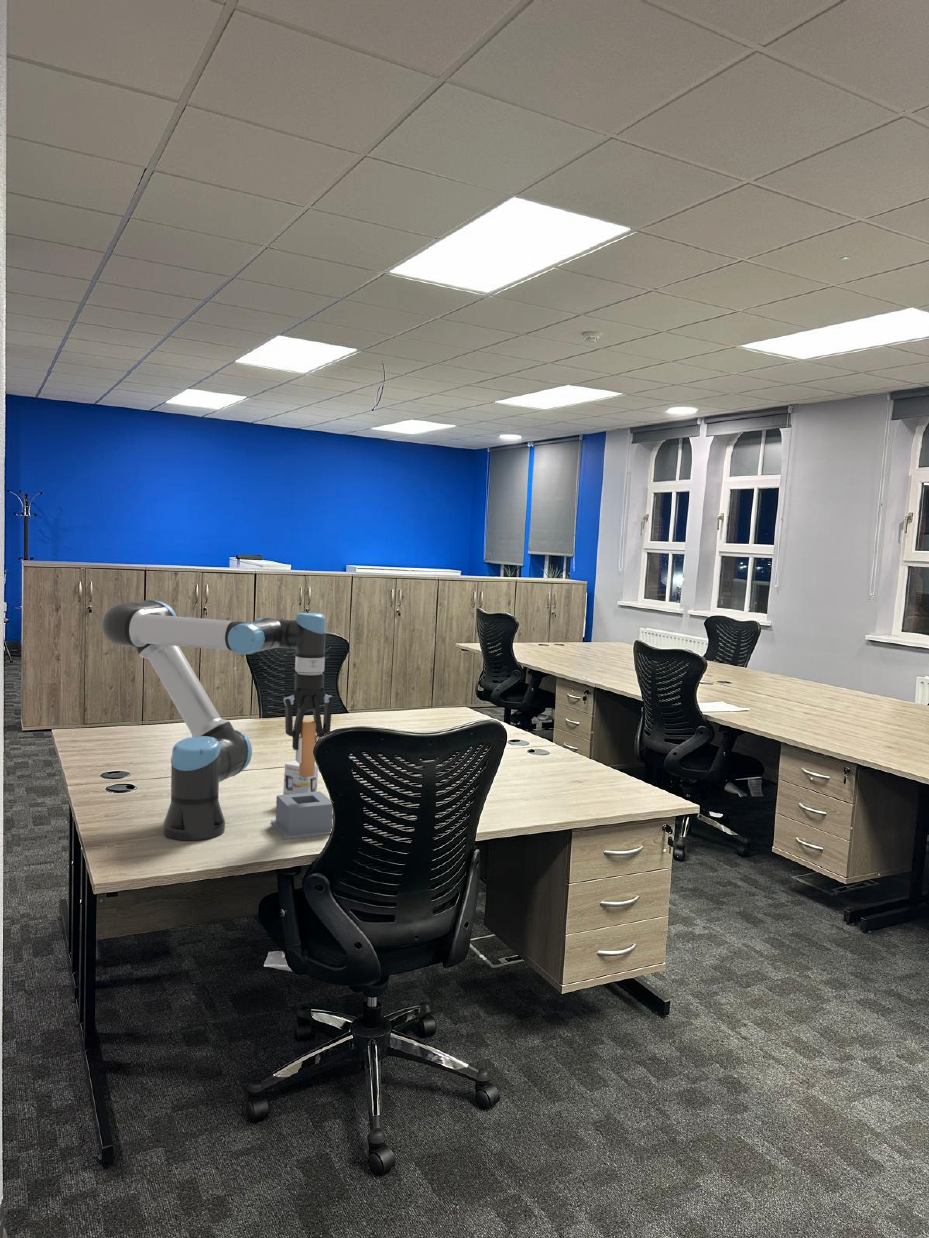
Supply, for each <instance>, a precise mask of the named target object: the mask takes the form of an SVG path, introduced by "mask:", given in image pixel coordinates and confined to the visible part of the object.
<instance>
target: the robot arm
mask: <svg viewBox="0 0 929 1238" xmlns="http://www.w3.org/2000/svg"><path fill="white" fill-rule="evenodd" d="M101 629H102V633H103V635H104V637H105V638H106V639H107V640H108V641H109V643H111V644H112V645H114V646H117V647H124V648H125V647H126V648H128V647H134V648H135V651H137V654H138V655H139V657H141V659H142V658H143V659H146V660H148V661H149V663H150V664H151V666H152V668H153V670H154V671H155V673H156V675H157V677H158V678H159V680H160V682H161V683H162V685H163V687H164V688H165V691H166V693H168V696H169V697H170V699H171V701H172V702H173V704H174V706H175V708H176V710H177V711H178V713H179V715H180V716H181V718H182V720H183V721H184V723H185V725H186V726H187V729H188V730H189V733H191V737H187V738H184V739H181V740H178V741H177V742H176V743H175V744H174V745H173V748H172V751H171V752H172V753H171V757H170V764H171V766H170V767H171V770H170V771H171V774H170V777H171V779H170V780H171V781H170V782H171V783H170V798H171V799H170V804H169V806H168V809H167V812H166V815H165V818H164V821H163V825H162V827H163V828H162V829H163V830H162V833H163V835H164V836H165V837H166V838H170V839H173V840H178V841H199V840H201V841H202V840H207V839H212V838H215V837H218V836H219V835H221V834H223V833H224V832H225V828H226V822H225V821H226V820H225V817H224V814H223V812H222V807H221V803H220V801H219V791H220V790H219V789H220V788H219V785H220V782H223V781H224V780H228V779H229V778H231V777H235V776H237V775H238V774H240V773H241V772H242V771H244V770H245V769H247V767H248V766H249V764H250V762H251V761H252V755H253V747H252V742H251V741H250V738H249V737H248V736H247V735H246V734H245V733H243V732H242V731H239V730H237V729H235V728H234V726H233V725H232V723H231V722H230V720H229V719H224V718H222V717H221V716H220V714H219V712H218V710H217V709H216V708H215V705H214V704H213V702H212V700H211V699H210V697H209V695H208V694H207V692H206V691H205V688H204V687H203V685H202V683H201V682H200V679H199V678H198V677H197V674H196V673H195V671H194V670H193V668H192V667H191V664H190V663H189V661H188V659H187V657H186V656H185V654H184V653H183V651H182V649H181V648H180V647H184V648H193V649H194V648H197V649H208V650H209V649H210V650H221V651H222V650H223V651H231V652H234V653H236V654H238V655H252V654H255V653H258V652H263V651H267V650H272V649H279V648H280V649H292V650H295V659H294V660H295V662H294V663H295V664H294V665H295V666H294V670H295V672H296V673H295V674H294V691H293V692H292V695H290V696H287V697H286V696H285V697H283V698H282V701H283V705H284V711H285V713H284V714H285V715H284V717H285V718H284V719H285V721H284V722H285V723H284V724H285V734H286V735H287V736H288V737H292V749H293V750H294V751H295V760H296V761H297V762H298V763H301V762H302V738H301V737H300V731H301V727H302V723H303V721H304V717H305V713H306V711H307V709H311V711H312V717H313V721H315V722H316V742H317V741H318V739H319V738H320V737H322V736H324V737H325V735H327V734H326V733H328V732H330V733H331V726H332V725H331V723H332V710H333V704H334V702H335V700H336V699H335V697H334V696H332V695H328V694H326V692H325V690H324V689H325V674H324V673H323V672H325V664H326V663H325V660H326V659H325V658H326V653H325V652H326V634H327V627H326V617H325V614H324V615H323V614H322V613H319V612H318V613H317V612H300V613H298V614H296V617H295V619H284V618H283V619H282V618H274V617H273V618H272V617H258V618H256V619H255V620H254V621H239V620H238V621H237V620H236V621H235V620H226V619H225V620H224V619H215V618H214V619H212V618H201V617H200V618H199V617H189V616H177V614H176V612H175V610H174V609H173V608H172V607H171V606H170V605H169V604H167V603H165V602H164V601H160V600H151V599H147V600H141V601H133V602H121V603H117V604H115V605H113V606H112V607H110V608H109V609H107V611H106V612H105V614H104V615H103V618H102V621H101ZM294 701H295V702H296V703H297V707H296V715H295V720H293V715H294V712H293V705H294ZM322 701H323V702H324V705H323V720H322V717H321V706H320V704H321V703H322ZM322 721H323V722H322ZM293 722H294V723H293Z"/></svg>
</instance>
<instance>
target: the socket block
mask: <svg viewBox="0 0 929 1238" xmlns="http://www.w3.org/2000/svg"><path fill="white" fill-rule="evenodd" d="M330 800H331V799H330V798H329V797H327V796H326V795H325V794H324V793H323V792H321V791H320V790H317V792H307V793H296V794H286V795H283V794H277V795H276V801H275V802H276V805H275V809H276V810H275V819H272V820H270V823H271V824H272V825H273V827H275V829H277V830H278V832H279V833H280V834H281V835H282V836H283V838H284V839H286V840H293V839H298V838H299V839H300V838H307V837H308V838H309V837H316V836H325V835H331V834H330V832H331V829H332V819H333V814H332V804H331V801H332V800H331V801H330Z"/></svg>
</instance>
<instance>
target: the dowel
mask: <svg viewBox="0 0 929 1238" xmlns="http://www.w3.org/2000/svg"><path fill="white" fill-rule="evenodd" d="M316 735H317V734H316V722H315V721H314V720H303V723H302V727H301V731H300V737H301V738H302V762H301V763H299V775H300V776H303V777H310V776H314V775H315V764H316V761H315V758H314V755H313V749H314V746H315V743H316Z"/></svg>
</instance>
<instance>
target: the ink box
mask: <svg viewBox="0 0 929 1238" xmlns="http://www.w3.org/2000/svg"><path fill="white" fill-rule="evenodd" d="M316 764H317V763H315V775H314V776H310V777H303V776H300V775H299V763H298V762H297V761H296V759H295V760H292V761H289V762H286V763H284V777H283V778H284V779H283V792H282V793H283V794H282V795H286V794H296V793H307V792H317V791H318V777H319V775H318V774H319V766H318V767H317V765H318V764H317V765H316Z"/></svg>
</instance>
